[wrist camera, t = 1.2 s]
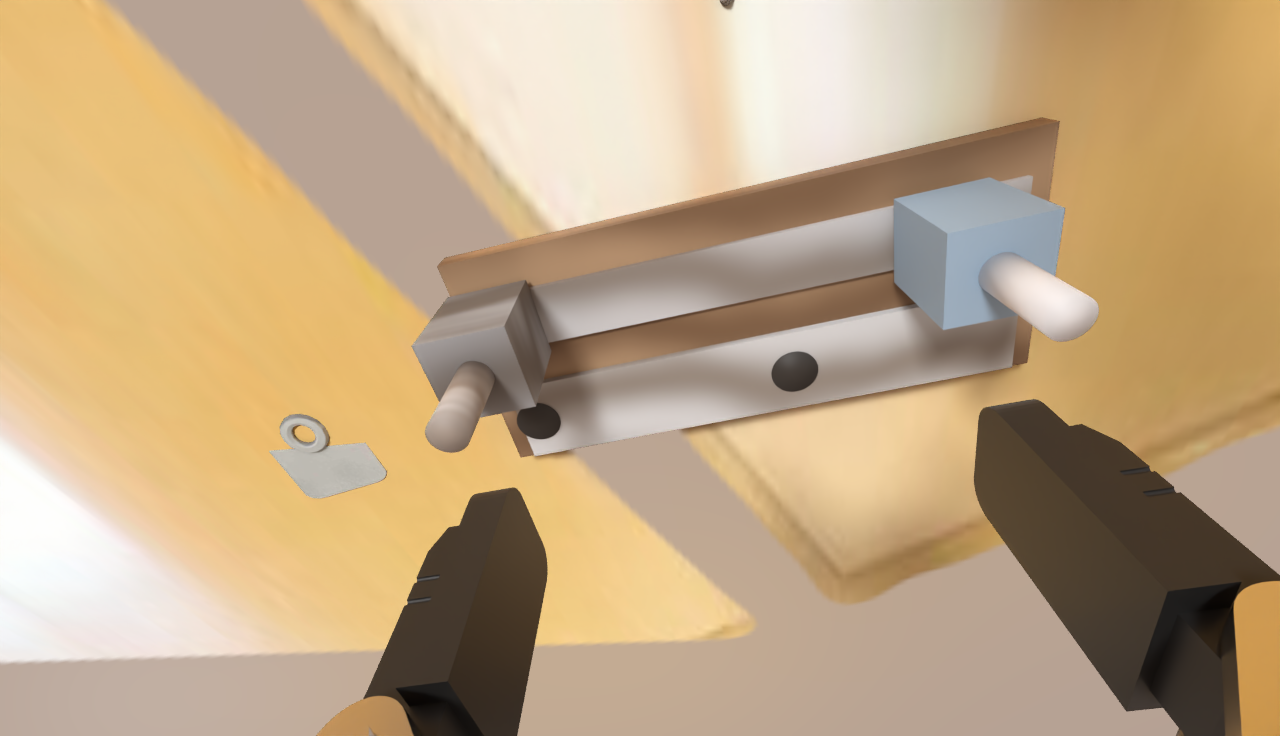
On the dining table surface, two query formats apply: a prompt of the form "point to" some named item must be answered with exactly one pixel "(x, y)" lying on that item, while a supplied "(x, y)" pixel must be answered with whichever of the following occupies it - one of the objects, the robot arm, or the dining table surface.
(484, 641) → the robot arm
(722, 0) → the pliers
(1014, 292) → the pointer block
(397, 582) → the dining table surface
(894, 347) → the board
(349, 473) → the mounting bracket
